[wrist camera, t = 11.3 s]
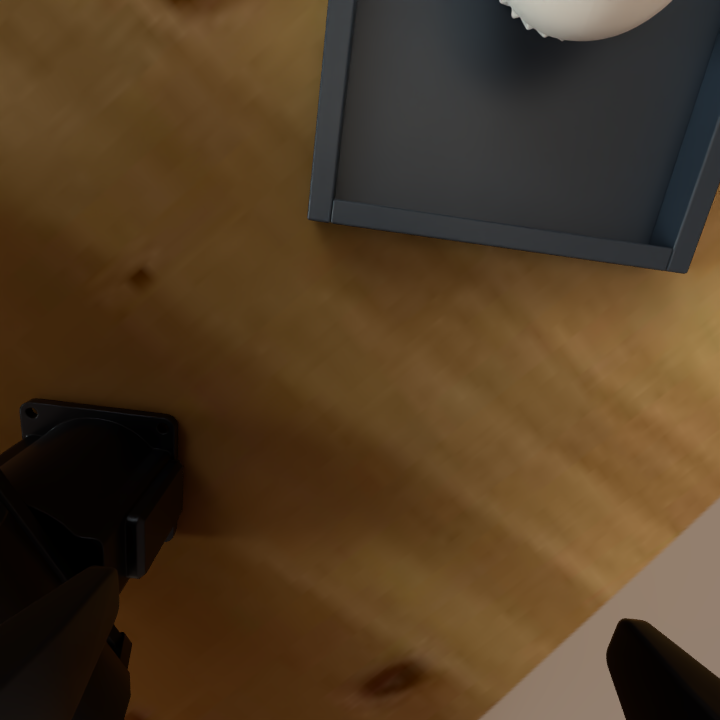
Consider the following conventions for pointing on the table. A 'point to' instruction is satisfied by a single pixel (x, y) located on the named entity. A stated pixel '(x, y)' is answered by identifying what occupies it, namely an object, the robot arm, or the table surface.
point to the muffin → (583, 16)
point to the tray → (520, 130)
